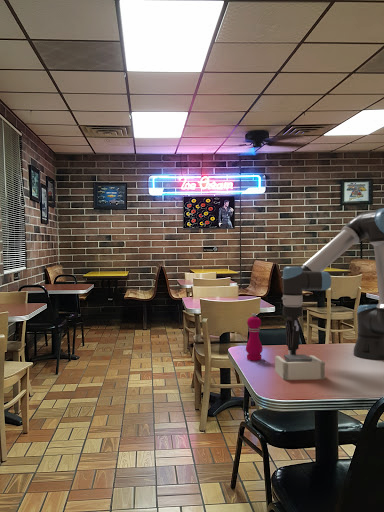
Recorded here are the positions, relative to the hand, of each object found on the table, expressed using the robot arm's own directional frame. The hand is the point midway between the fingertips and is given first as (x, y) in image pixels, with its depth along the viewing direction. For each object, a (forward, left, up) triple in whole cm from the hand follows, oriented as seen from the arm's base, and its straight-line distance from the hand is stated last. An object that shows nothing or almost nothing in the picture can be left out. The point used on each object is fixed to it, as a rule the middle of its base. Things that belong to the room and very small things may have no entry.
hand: (292, 366), depth 165 cm
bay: (0, +7, -2) cm, 7 cm away
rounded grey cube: (0, +6, -2) cm, 6 cm away
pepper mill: (+11, -19, -2) cm, 22 cm away
